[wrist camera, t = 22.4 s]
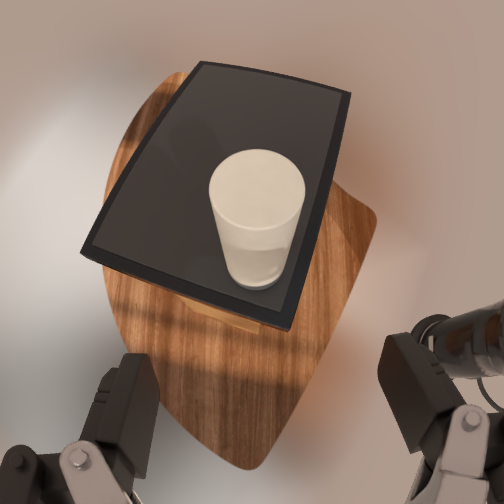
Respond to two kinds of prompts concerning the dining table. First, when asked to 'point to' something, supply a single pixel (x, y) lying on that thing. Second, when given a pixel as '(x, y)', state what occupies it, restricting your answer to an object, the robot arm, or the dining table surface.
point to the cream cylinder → (256, 214)
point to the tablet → (198, 179)
